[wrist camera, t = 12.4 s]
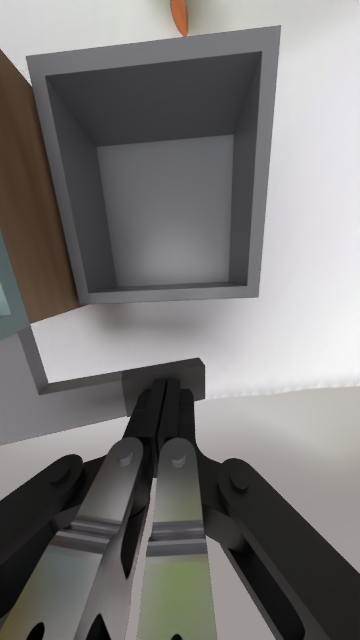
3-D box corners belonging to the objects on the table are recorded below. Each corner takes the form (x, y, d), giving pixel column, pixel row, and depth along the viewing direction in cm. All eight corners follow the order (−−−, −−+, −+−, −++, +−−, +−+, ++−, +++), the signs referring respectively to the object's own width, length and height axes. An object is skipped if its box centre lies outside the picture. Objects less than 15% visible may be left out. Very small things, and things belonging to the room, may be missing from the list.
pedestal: (26, 300, 19) (-137, 329, 9) (-17, 162, 15) (-347, -16, 6) (111, 296, 18) (30, 323, 9) (87, 153, 15) (-89, -57, 5)
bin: (114, 294, 18) (79, 304, 12) (90, 142, 14) (25, 56, 9) (234, 288, 17) (258, 297, 12) (241, 129, 14) (281, 25, 8)
